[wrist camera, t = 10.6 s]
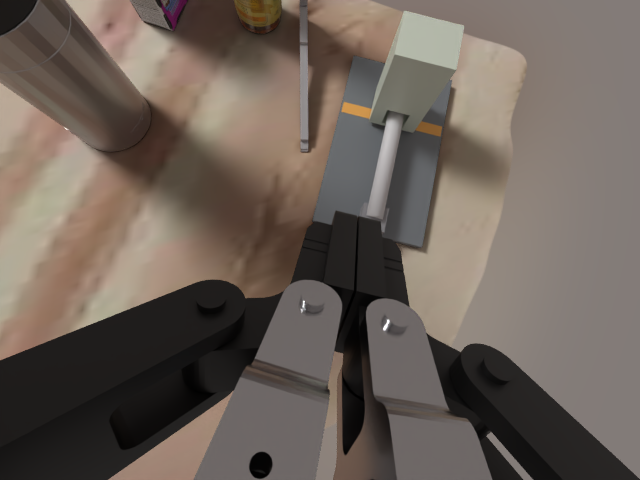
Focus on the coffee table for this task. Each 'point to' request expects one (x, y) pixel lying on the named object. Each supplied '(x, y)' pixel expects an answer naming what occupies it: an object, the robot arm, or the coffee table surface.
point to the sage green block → (416, 68)
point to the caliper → (304, 75)
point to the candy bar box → (160, 11)
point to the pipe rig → (381, 161)
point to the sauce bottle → (259, 14)
